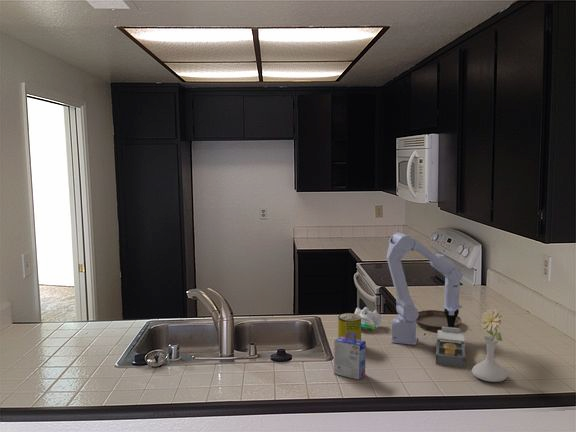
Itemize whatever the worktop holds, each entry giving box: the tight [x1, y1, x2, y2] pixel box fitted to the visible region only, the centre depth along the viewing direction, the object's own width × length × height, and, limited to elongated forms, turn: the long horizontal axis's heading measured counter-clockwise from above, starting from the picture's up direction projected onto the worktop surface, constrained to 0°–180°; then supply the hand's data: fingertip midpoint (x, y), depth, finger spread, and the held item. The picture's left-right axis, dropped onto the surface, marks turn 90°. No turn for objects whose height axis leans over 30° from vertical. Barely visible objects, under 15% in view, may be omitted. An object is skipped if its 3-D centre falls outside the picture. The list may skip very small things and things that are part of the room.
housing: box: [435, 339, 466, 368], centre depth 193 cm, size 10×18×4 cm, turn 162°
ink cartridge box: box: [333, 332, 367, 380], centre depth 177 cm, size 10×6×14 cm, turn 58°
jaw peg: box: [444, 343, 456, 356], centre depth 188 cm, size 4×4×6 cm
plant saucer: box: [416, 309, 463, 332], centre depth 227 cm, size 21×21×3 cm
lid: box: [436, 327, 465, 343], centre depth 202 cm, size 10×10×2 cm
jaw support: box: [354, 306, 383, 330], centre depth 224 cm, size 12×9×10 cm
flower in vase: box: [471, 308, 508, 383], centre depth 172 cm, size 13×11×25 cm
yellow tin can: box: [337, 312, 362, 340], centre depth 203 cm, size 9×9×12 cm
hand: (450, 327), depth 210 cm, fingers closed
